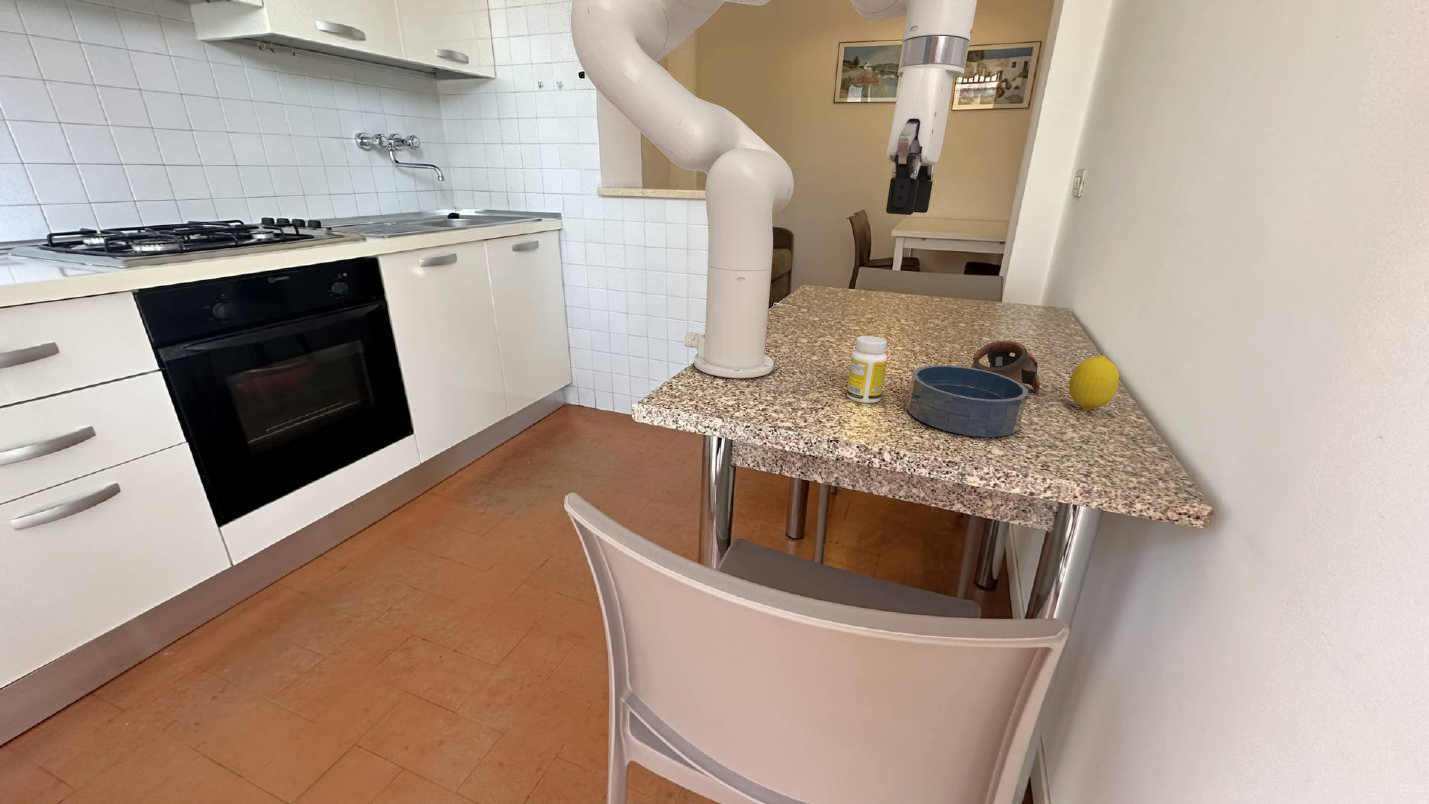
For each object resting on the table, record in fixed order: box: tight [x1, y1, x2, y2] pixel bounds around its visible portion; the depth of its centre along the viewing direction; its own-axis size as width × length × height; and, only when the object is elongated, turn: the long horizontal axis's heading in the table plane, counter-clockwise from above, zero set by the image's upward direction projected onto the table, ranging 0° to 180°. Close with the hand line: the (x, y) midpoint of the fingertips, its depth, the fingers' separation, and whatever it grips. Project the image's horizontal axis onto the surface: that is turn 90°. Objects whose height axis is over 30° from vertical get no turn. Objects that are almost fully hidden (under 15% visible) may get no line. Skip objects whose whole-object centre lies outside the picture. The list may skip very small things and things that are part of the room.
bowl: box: [906, 364, 1029, 438], centre depth 74 cm, size 14×14×5 cm
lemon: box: [1068, 354, 1120, 412], centre depth 78 cm, size 6×6×8 cm
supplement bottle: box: [846, 335, 888, 404], centre depth 78 cm, size 5×5×8 cm
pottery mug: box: [971, 340, 1041, 395], centre depth 86 cm, size 12×10×8 cm
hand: (907, 213), depth 74 cm, fingers open, 9 cm apart
